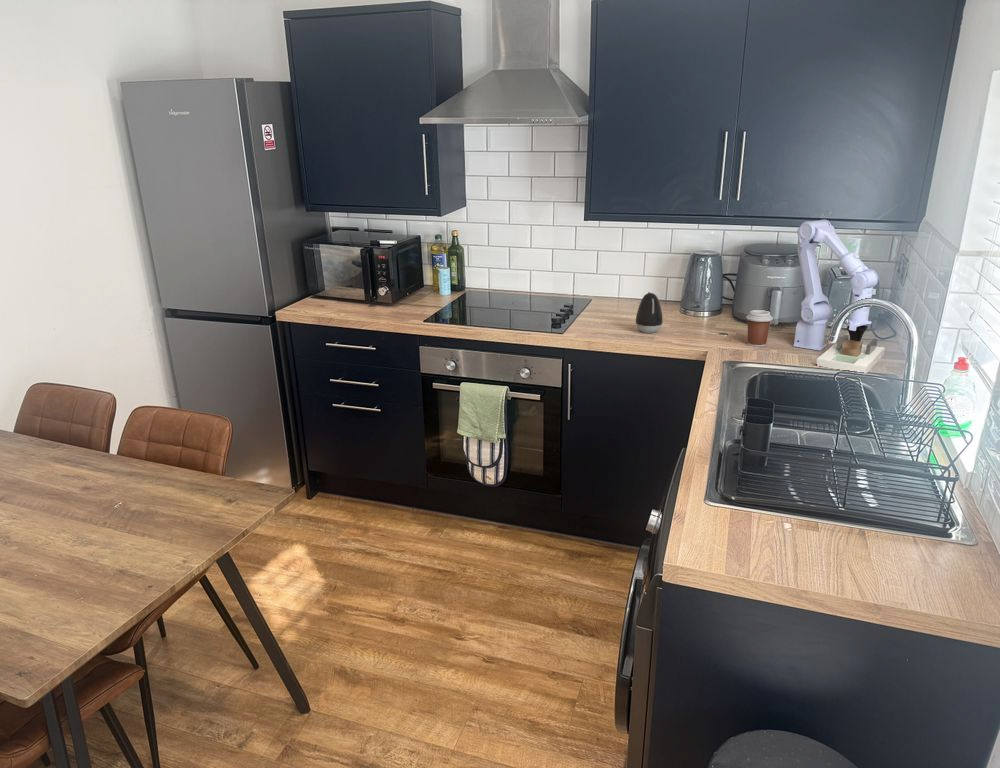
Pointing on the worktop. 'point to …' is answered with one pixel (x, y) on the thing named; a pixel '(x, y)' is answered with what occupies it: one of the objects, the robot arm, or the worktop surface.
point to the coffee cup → (758, 327)
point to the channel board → (850, 359)
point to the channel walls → (869, 348)
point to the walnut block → (851, 348)
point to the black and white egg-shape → (649, 314)
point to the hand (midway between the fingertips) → (854, 346)
